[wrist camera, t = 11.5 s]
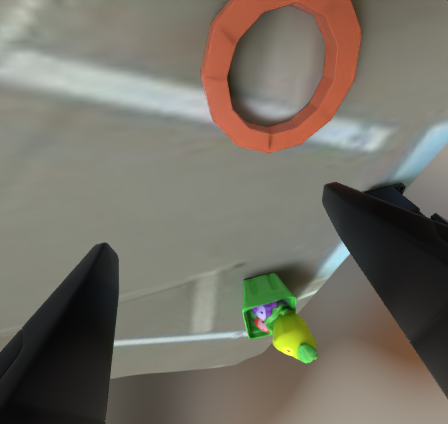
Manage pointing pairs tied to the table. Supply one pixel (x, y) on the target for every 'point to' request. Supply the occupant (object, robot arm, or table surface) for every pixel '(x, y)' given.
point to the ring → (323, 97)
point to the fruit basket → (276, 317)
